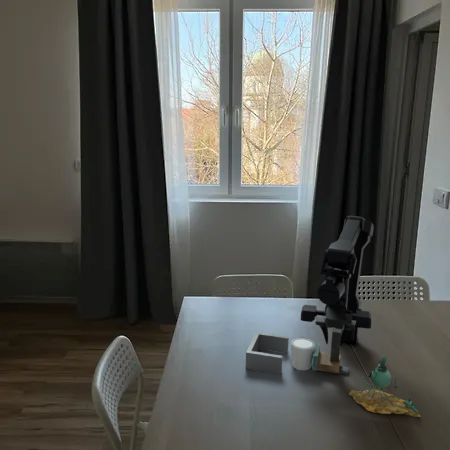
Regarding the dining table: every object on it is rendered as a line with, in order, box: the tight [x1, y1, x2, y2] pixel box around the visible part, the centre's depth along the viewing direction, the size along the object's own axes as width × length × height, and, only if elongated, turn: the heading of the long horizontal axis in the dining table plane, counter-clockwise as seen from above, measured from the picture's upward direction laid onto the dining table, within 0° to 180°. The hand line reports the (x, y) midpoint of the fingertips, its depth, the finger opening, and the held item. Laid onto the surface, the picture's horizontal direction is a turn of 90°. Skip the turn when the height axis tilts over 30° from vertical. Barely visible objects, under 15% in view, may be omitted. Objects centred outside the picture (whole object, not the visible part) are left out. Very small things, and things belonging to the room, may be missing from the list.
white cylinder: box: [290, 337, 316, 371], centre depth 134 cm, size 7×7×7 cm
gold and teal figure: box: [348, 355, 422, 418], centre depth 115 cm, size 10×18×15 cm, turn 48°
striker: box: [311, 328, 342, 374], centre depth 131 cm, size 7×8×11 cm
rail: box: [338, 365, 349, 376], centre depth 132 cm, size 9×2×1 cm, turn 74°
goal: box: [245, 331, 290, 375], centre depth 137 cm, size 10×13×5 cm
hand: (333, 344), depth 131 cm, fingers open, 3 cm apart
